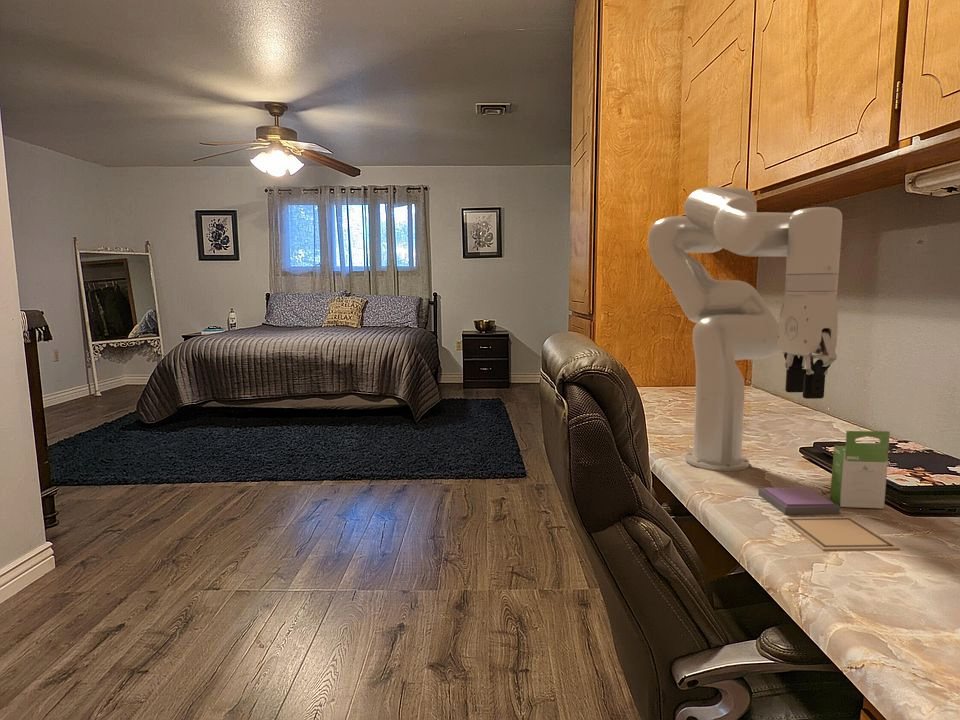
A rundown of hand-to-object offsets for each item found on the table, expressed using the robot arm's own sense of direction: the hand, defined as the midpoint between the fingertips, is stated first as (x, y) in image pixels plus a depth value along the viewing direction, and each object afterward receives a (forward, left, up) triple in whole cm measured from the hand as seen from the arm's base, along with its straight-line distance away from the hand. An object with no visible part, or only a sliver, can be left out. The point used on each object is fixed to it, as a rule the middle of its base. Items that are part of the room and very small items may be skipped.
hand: (803, 393), depth 97 cm
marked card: (+12, 0, -19) cm, 23 cm away
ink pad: (0, 0, -19) cm, 19 cm away
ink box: (+1, +10, -20) cm, 22 cm away
